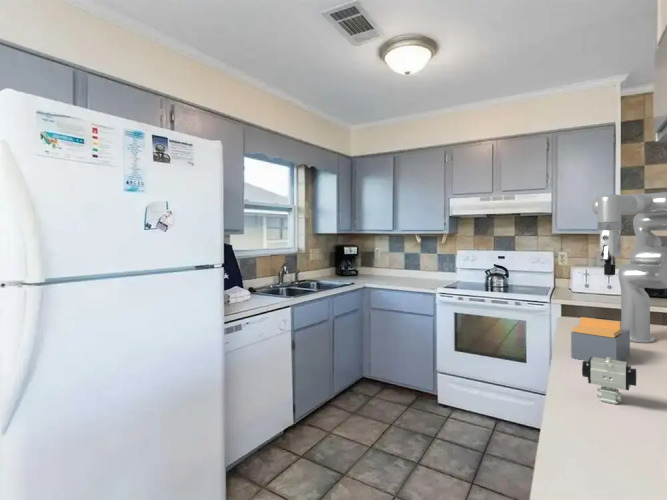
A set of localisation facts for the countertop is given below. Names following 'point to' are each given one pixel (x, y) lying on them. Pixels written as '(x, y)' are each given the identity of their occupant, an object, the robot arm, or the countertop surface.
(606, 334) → the cover
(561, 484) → the countertop surface
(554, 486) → the countertop surface
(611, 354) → the housing
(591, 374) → the pneumatic valve
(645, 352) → the countertop surface
